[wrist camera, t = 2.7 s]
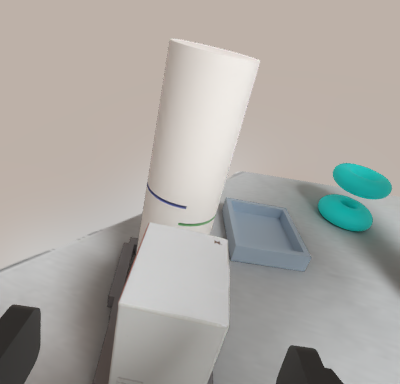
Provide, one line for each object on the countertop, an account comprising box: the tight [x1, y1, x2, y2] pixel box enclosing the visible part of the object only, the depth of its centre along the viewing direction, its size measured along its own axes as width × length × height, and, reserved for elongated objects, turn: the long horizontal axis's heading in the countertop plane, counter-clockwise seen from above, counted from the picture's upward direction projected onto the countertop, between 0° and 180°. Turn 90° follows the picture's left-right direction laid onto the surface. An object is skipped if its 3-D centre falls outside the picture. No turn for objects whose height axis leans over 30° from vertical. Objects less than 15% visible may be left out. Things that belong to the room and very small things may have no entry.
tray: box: [222, 197, 311, 272], centre depth 47 cm, size 11×13×3 cm
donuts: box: [318, 163, 392, 231], centre depth 58 cm, size 10×10×10 cm
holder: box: [93, 238, 213, 384], centre depth 30 cm, size 11×22×2 cm, turn 2°
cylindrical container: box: [136, 39, 260, 254], centre depth 30 cm, size 7×7×25 cm
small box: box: [108, 222, 230, 384], centre depth 23 cm, size 8×6×13 cm
